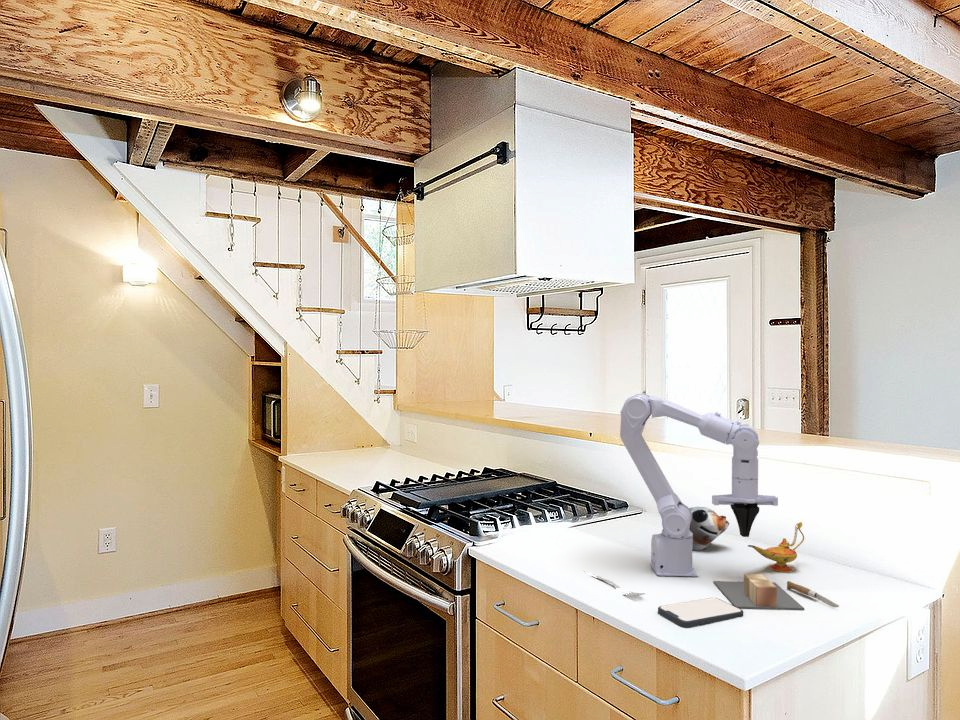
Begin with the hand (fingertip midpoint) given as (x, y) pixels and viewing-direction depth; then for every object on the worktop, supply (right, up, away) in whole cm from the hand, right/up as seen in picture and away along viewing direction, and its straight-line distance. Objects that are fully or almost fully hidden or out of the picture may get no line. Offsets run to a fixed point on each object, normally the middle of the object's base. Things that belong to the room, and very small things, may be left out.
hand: (744, 535), depth 156 cm
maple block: (-2, -8, -9) cm, 12 cm away
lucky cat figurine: (-3, -10, +27) cm, 29 cm away
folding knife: (+10, -11, -11) cm, 19 cm away
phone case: (-17, -11, -20) cm, 28 cm away
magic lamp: (+11, -11, +8) cm, 17 cm away
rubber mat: (-1, -11, -10) cm, 14 cm away
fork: (-33, -11, -2) cm, 35 cm away
